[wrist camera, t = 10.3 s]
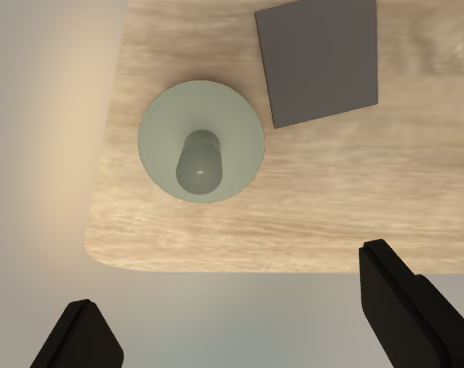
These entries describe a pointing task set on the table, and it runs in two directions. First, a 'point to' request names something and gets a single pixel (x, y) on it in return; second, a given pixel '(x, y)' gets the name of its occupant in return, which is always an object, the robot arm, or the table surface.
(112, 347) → the robot arm
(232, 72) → the table surface
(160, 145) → the lid
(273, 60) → the mat
